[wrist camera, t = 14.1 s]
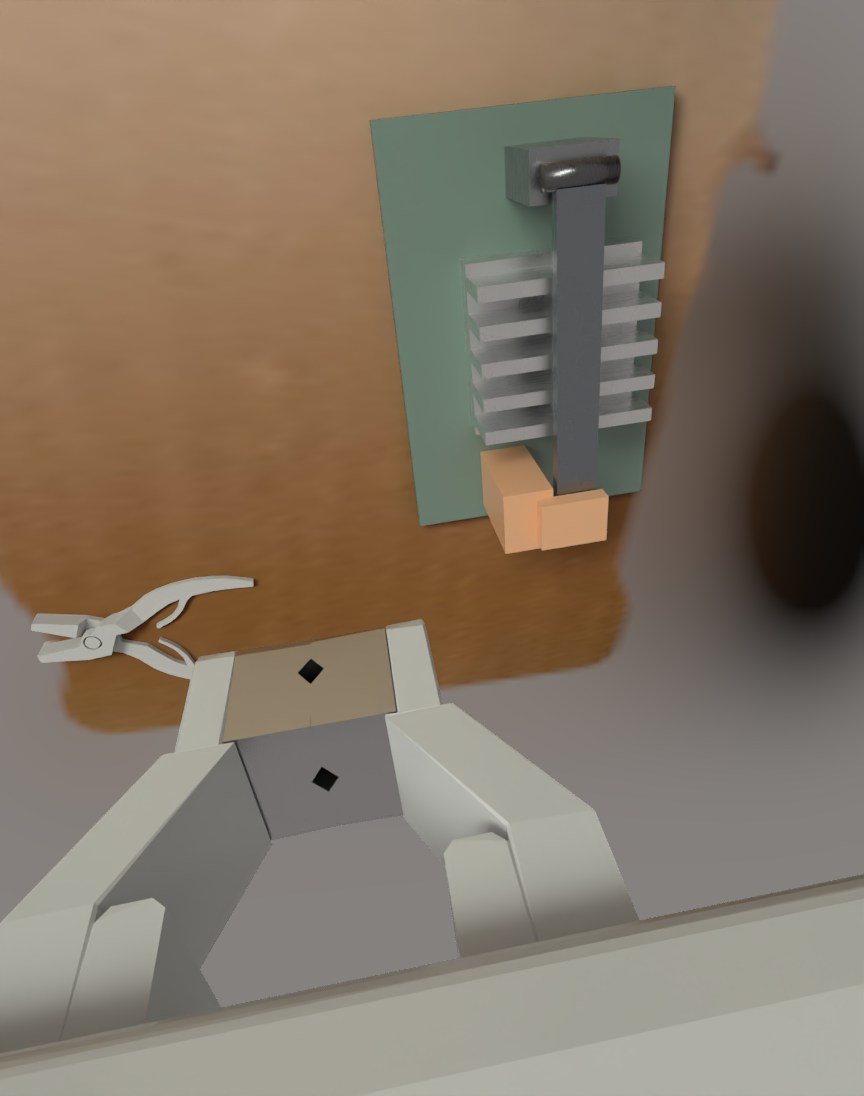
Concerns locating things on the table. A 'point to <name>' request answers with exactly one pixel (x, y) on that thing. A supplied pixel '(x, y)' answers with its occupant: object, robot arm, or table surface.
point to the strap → (577, 313)
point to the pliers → (129, 627)
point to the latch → (537, 505)
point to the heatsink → (550, 316)
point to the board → (492, 228)
